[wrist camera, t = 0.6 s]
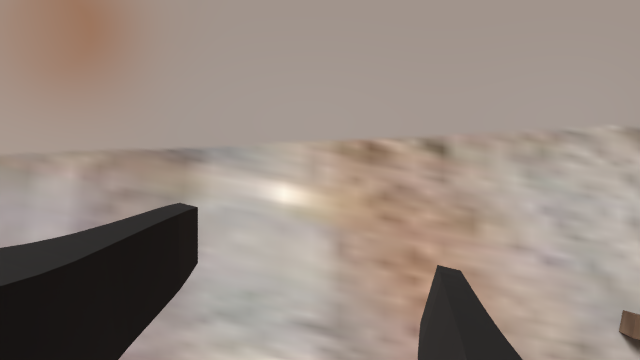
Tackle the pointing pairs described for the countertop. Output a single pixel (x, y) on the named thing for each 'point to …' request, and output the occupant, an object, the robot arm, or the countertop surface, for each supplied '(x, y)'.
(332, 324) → the countertop surface
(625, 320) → the bay
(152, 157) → the countertop surface
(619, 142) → the countertop surface
